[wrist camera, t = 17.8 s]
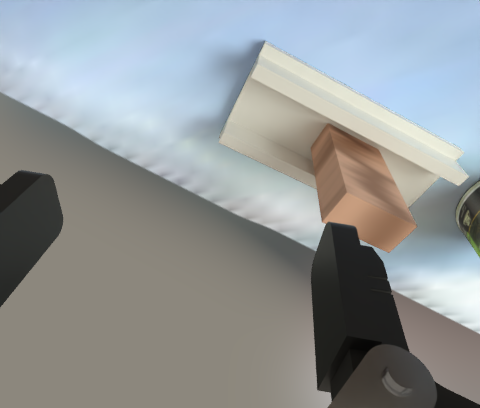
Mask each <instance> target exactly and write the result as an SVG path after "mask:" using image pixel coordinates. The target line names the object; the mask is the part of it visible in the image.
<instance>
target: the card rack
mask: <svg viewBox="0 0 480 408" xmlns="http://www.w3.org/2000/svg"><path fill="white" fill-rule="evenodd" d="M327 123H329V124H331V125H333V126H335V127H337V128H339V129H341V130H343V131H344V132H346V133H348V134H350V135H352V136H354V137H356V138H358V139H360V140H362V141H363V142H365V143H367V144H369V145H371V146H373V147H375V148H377V149H379V151H380V153H381V155H382V157H383V159H384V161H385V163H386V165H387V167H388V169H389V171H390V173H391V175H392V177H393V179H394V181H395V183H396V185H397V187H398V189H399V191H400V193H401V195H402V197H403V199H404V201H405V203H406V205H407V207H408V209H409V207H410V206H411V205H412V204H413V203H414V202H415V201H416V200H417V199H418V198H419V197H420V196H421V195H422V194H423V193H424V192H425V191H426V190H427V189H428V188H429V187H430V186H431V185H432V184H433V183H434V182H435V181H436V180H437V179H438V178H439V177H442V178H444V179H446V180H448V181H450V182H452V183H454V184H456V185H457V186H460V185H461V184H462V183H463V182H464V181H465V180H466V179H467V178H468V177H469V176H468V175H467V174H466V172H465V171H464V170H463V169H462V168H461V166H460V165H459V164H458V163H457V162H456V160H457V159H458V158H459V157H460V156H461V155H462V154H463V153H464V152H463V151H462V150H461V148H459V147H457V146H456V145H454V144H452V143H450V142H448V141H447V140H445V139H443V138H441V137H439V136H437V135H436V134H434V133H432V132H430V131H428V130H427V129H425V128H423V127H421V126H419V125H417V124H416V123H414V122H412V121H410V120H408V119H407V118H405V117H403V116H401V115H399V114H397V113H396V112H394V111H392V110H390V109H388V108H387V107H385V106H383V105H381V104H379V103H378V102H376V101H374V100H372V99H370V98H368V97H367V96H365V95H363V94H361V93H359V92H358V91H356V90H354V89H352V88H350V87H348V86H347V85H345V84H343V83H341V82H339V81H338V80H336V79H334V78H332V77H330V76H328V75H327V74H325V73H323V72H321V71H319V70H318V69H316V68H314V67H312V66H310V65H308V64H307V63H305V62H303V61H301V60H299V59H298V58H296V57H294V56H292V55H290V54H289V53H287V52H285V51H283V50H281V49H279V48H278V47H276V46H274V45H272V44H270V43H269V42H267V41H265V43H264V45H263V47H262V49H261V51H260V53H259V55H258V57H257V59H256V61H255V63H254V65H253V67H252V69H251V71H250V73H249V76H248V78H247V80H246V82H245V84H244V86H243V88H242V90H241V92H240V94H239V96H238V98H237V100H236V102H235V104H234V106H233V109H232V111H231V113H230V115H229V117H228V119H227V121H226V123H225V125H224V127H223V129H222V131H221V133H220V136H219V138H220V140H219V143H220V144H223V145H225V146H227V147H229V148H231V149H233V150H235V151H237V152H239V153H241V154H244V155H246V156H248V157H250V158H252V159H254V160H256V161H258V162H260V163H263V164H265V165H267V166H269V167H271V168H273V169H275V170H277V171H279V172H281V173H284V174H286V175H288V176H290V177H292V178H294V179H296V180H298V181H300V182H302V183H305V184H307V185H309V186H311V187H313V188H315V189H317V186H316V179H315V173H314V166H313V160H312V153H311V146H312V145H313V143H314V142H315V140H316V139H317V137H318V136H319V135H320V133H321V132H322V130H323V129H324V127H325V126H326V124H327ZM409 211H410V210H409ZM410 213H411V212H410ZM411 215H412V214H411ZM412 217H413V216H412ZM413 219H414V218H413ZM414 221H415V220H414ZM415 223H416V222H415ZM416 225H417V224H416Z"/></svg>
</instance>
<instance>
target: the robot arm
mask: <svg viewBox="0 0 480 408" xmlns="http://www.w3.org/2000/svg"><path fill="white" fill-rule="evenodd" d="M62 225H63V214H62V210H61V207H60V203H59V199H58V195H57V191H56V187H55V183H54V180H53V178H52V177H51V176H50V175H48V174H42V173H36V172H30V171H23V170H21V171H18V172H17V173H15V174H14V175H13V176H11V177H10V178H9V179H8V180H7V181H5V182H4V183H3V184H2V185H1V184H0V307H1V305H3V303H4V302H5V301H6V300H7V298H8V297H9V296H10V295H11V293H12V292H13V291H14V290H15V289H16V287H17V286H18V285H19V283H20V282H21V281H22V280H23V279H24V277H25V276H26V275H27V274H28V272H29V271H30V270H31V269H32V267H33V266H34V265H35V264H36V263H37V261H38V260H39V259H40V257H41V256H42V255H43V254H44V252H45V251H46V250H47V249H48V247H49V246H50V245H51V244H52V243H53V241H54V240H55V239H56V238H57V237H58V235H59V233H60V231H61V229H62ZM387 279H388V277H387V274H386V270H385V267H384V263H383V261H382V260H381V259H380V257H379V256H378V255H377V253H376V252H375V251H374V249H373V248H372V247H369V246H363V245H360V241H359V237H358V232H357V228H356V227H355V226H353V225H347V224H341V223H335V222H327V224H326V226H325V228H324V231H323V234H322V237H321V240H320V243H319V246H318V248H317V251H316V254H315V257H314V260H313V264H312V272H311V286H312V305H313V322H314V339H315V355H316V373H317V390H319V391H325V392H331V398H332V402H331V404H330V405H329V406H328V408H480V405H479V404H477V403H475V402H473V401H471V400H469V399H466V398H465V397H462V396H461V395H458V394H456V393H454V392H452V391H450V390H448V389H446V388H444V387H443V386H441V385H439V384H438V383H436V382H435V381H434V380H433V377H432V376H431V374H430V372H429V370H428V369H427V368H426V367H425V365H424V364H423V363H422V362H421V361H420V360H419V359H418V358H417V357H415V356H414V355H413V354H411V353H410V352H409V349H408V346H407V342H406V339H405V336H404V332H403V329H402V325H401V322H400V319H399V315H398V311H397V308H396V305H395V301H394V298H393V295H391V292H392V291H391V287H390V284H389V281H387Z"/></svg>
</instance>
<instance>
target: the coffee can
mask: <svg viewBox="0 0 480 408" xmlns="http://www.w3.org/2000/svg"><path fill="white" fill-rule="evenodd" d="M456 222H457V225H458V227H459V229H460V230H461V231H462V232H463V233H464V235H465V236H466V238H467V239H468V241H469V242H470V244H471V245H472V247H473V248H474V250H475V251H476V253H477V254H478V256H479V257H480V181H479V182H477V183H476V184H475V185H474V186H472V187H471V188H470V189H469V190H468V191H467V192H466V193H465V194H464V196H463V197H462V199H461V200H460V202H459V204H458V206H457V209H456Z"/></svg>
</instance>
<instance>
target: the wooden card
mask: <svg viewBox="0 0 480 408" xmlns="http://www.w3.org/2000/svg"><path fill="white" fill-rule="evenodd" d="M311 153H312V160H313V166H314V173H315V179H316V186H317V192H318V199H319V205H320V212H321V218H322V222H323V223H325V224H327V222H335V223H341V224H347V225H353V226H355V227H356V228H357V232H358V237H359V239H360V240H362V241H364V242H366V243H369V244H371V245H373V246H375V247H377V248H379V249H382V250H384V251H386V252H388V253H389V252H390V251H391V250H393V249H394V248H395V247H396V246H397V245H398V244H399V243H400V242H401V241H402V240H403V239H404V238H406V237H407V236H408V235H409V234H410V233H411V232H412V231H413V230H414V229H415V228H416V227H417V225H416V223H415V221H414V219H413V217H412V215H411V213H410V211H409V209H408V207H407V205H406V203H405V201H404V199H403V197H402V195H401V193H400V191H399V189H398V187H397V185H396V183H395V181H394V179H393V177H392V175H391V173H390V171H389V169H388V167H387V165H386V163H385V161H384V159H383V157H382V155H381V153H380V151H379V149H377V148H375V147H373V146H371V145H369V144H367V143H365V142H363V141H362V140H360V139H358V138H356V137H354V136H352V135H350V134H348V133H346V132H344V131H343V130H341V129H339V128H337V127H335V126H333V125H331V124H329V123H327V124H326V126H325V127H324V129H323V130H322V132H321V133H320V135H319V136H318V137H317V139H316V140H315V142H314V143H313V145H312V146H311Z"/></svg>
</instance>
